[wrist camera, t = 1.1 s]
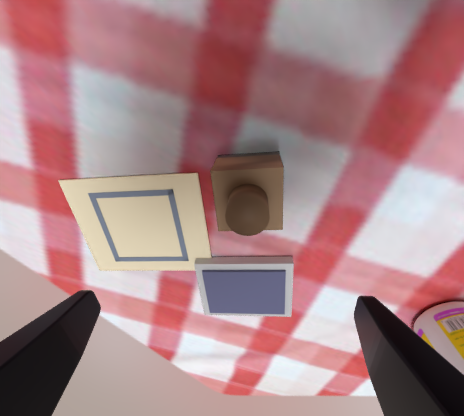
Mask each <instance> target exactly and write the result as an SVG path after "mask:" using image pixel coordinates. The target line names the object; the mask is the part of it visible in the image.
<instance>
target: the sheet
mask: <svg viewBox="0 0 464 416" xmlns="http://www.w3.org/2000/svg"><path fill="white" fill-rule="evenodd" d="M59 183H60V186H61V188H62V190H63V192H64V194H65V197H66V199H67V201H68V203H69V205H70V207H71V210H72V212H73V214H74V216H75V218H76V220H77V223H78V225H79V227H80V229H81V231H82V234H83V236H84V238H85V240H86V242H87V244H88V247H89V249H90V251H91V253H92V255H93V257H94V260H95V262H96V264H97V266H98V268H99V270H100V271H153V270H195V266H194V263H195V260H196V258H212V255H211V249H210V243H209V237H208V231H207V225H206V219H205V212H204V206H203V200H202V194H201V188H200V182H199V175H198V172H197V173H178V174H159V175H140V176H121V177H103V178H84V179H65V180H59Z"/></svg>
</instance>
